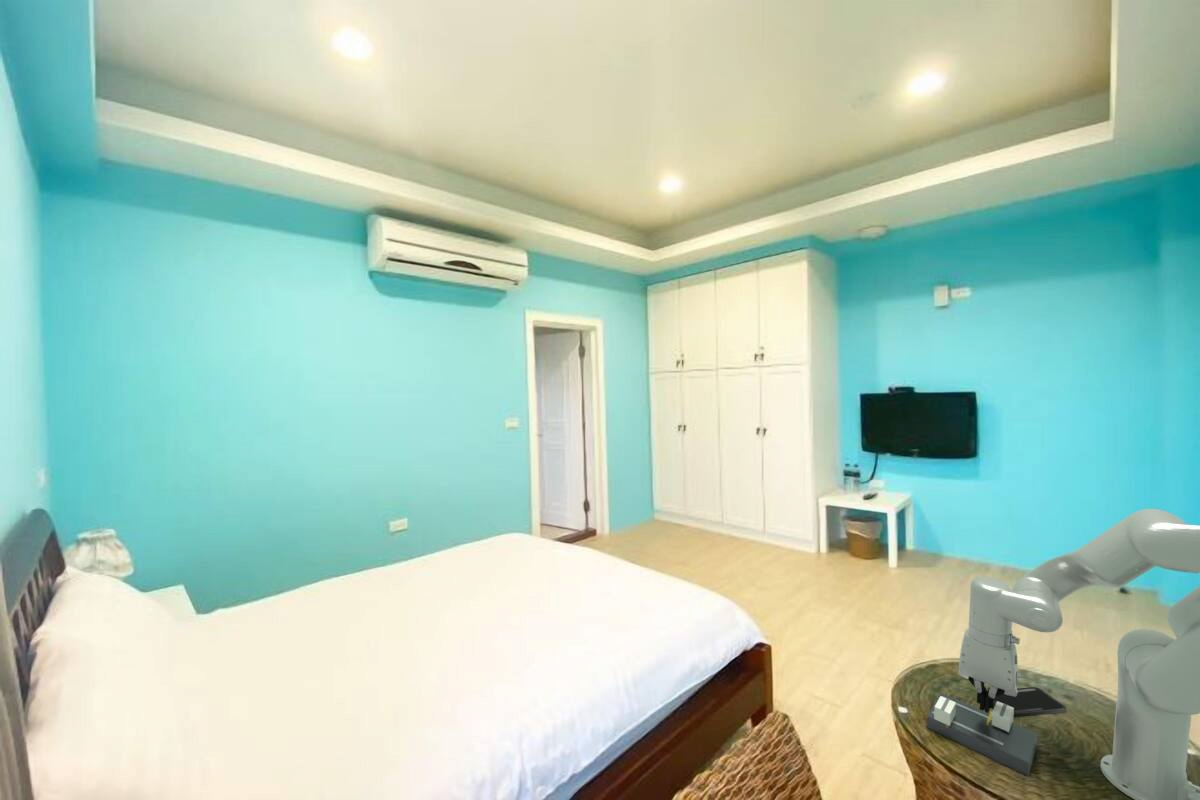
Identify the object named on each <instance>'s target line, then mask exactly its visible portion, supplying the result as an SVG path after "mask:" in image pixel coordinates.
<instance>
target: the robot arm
mask: <svg viewBox="0 0 1200 800" xmlns="http://www.w3.org/2000/svg"><path fill="white" fill-rule="evenodd" d="M1156 567H1158V568H1162V569H1164V570H1168V571H1175V572H1181V573H1191V574H1200V525H1199V524H1198V525H1197V524H1188V523H1187V522H1185V521H1184V520H1183V519H1182V518H1181V517H1178V516H1177V515H1174V514H1173V513H1171V512H1168V511H1165V510H1163V509H1159V508H1144V509H1139V510H1137V511H1135V512H1132V513H1131V514H1130V515H1128V516H1127V517H1124V518H1123V519H1122V520H1120V521H1118V522H1117V523H1116V524H1114V525H1112V526H1111V527H1110V528H1108V529H1107V530H1106V531H1104V532H1102V533H1101V534H1099V535H1098V536H1096V537H1095V538H1093V539H1092V540H1090V541H1088V542H1087V543H1085V544H1084V545H1083V546H1080V547H1079V548H1077V549H1076V550H1073V551H1071V552H1067V553H1065V554H1061V555H1059V556H1056V557H1053V558H1051V559H1049V560H1047V561H1044V562H1042V563H1041V564H1040V565H1038V566H1037V567H1035V568H1034V569H1032V570H1031V571H1029V572H1027V573H1026V574H1025V575H1023V576H1022V577H1020V578H1019V579H1018V580H1017V581H1016V582H1015V584H1014V586H1013V588H1012V586H1010V585H1009V584H1008V583H1007V582H1005V581H1002V580H1000V579H996V578H994V577H987V576H979V577H976V578H974V579H972V580H971V583H970V591H969V592H970V594H969V595H970V596H969V612H968V614H969V617H968V628H967V629H965V631H964V634H963V637H962V642H961V648H960V651H959V653H960V654H959V662H958V666H959V667H958V671H957V674H958V675H959V676H960V677H962V678H964V679H966V680H968V681H969V682H970V684H972V686H973V687H974V690H975V692H976V693H977V694H976V703H978V704H979V709H980V710H982V711H985V712H987V713H990V711H991V710H994V708H995V705H994V704H995V697H996V696H999V695H1002V694H1006V695H1010V696H1015V697H1016V696H1017V693H1018V692H1017V685H1016V684H1018V677H1019V674H1018V673H1019V668H1018V667H1019V665H1018V660H1019V659H1018V653H1017V647H1016V644H1017V645H1019V644H1020V643H1021V639H1020V637H1017V636H1016V635H1014V634H1013V630H1012V628H1013V627H1012V626H1013V623H1015V624H1016V625H1020V626H1022V627H1024V628H1027V629H1029V630H1032V631H1036V632H1040V633H1053V632H1057V631H1058V630H1059V629H1061V627H1062V625H1063V622H1064V621H1063V613H1062V611H1061V606H1060V603H1059V602H1061V601H1062V600H1064V599H1066V598H1067V597H1068V596H1070V595H1072V594H1073V593H1075V592H1078V591H1080V590H1082V589H1084V588H1088V587H1091V586H1101V587H1109V588H1121V587H1124V586H1126V585H1127V584H1129V583H1131V582H1132V581H1134V580H1136V579H1137V578H1139V577H1141V576H1142V575H1144V574H1145V573H1147V572H1149V571H1150V570H1152V569H1154V568H1156ZM1166 616H1167V617H1166V618H1167V621H1168V624H1169V627H1170V629H1171V631H1172V632H1173V634H1174V635H1175V636H1176V638H1175V639H1174V638H1173V637H1171V636H1169V635H1167V634H1165V633H1164V632H1161V631H1157V630H1153V629H1147V628H1141V629H1140V628H1139V629H1133V630H1130V631H1129V632H1127V633H1125V634H1124V635H1123V636H1122V637H1121V639H1120V640H1119V643H1118V646H1117V676H1118V677H1117V694H1116V697H1117V698H1116V704H1115V705H1116V706H1115V719H1114V728H1113V729H1114V731H1113V732H1114V733H1113V743H1112V744H1113V745H1112V754H1108V755H1107V754H1106V755H1104V756H1103V757H1101V760H1100V771H1101V773H1102V774H1103V776H1104V777H1105V778H1106V779H1107V780H1108V781H1109V782H1110V783H1111V784H1112V785H1113V786H1114V787H1115V788H1117V789H1118V790H1119V791H1120V792H1122V793H1123V794H1124V795H1126V796H1128V797H1130V798H1132V799H1133V800H1200V786H1198V785H1197V784H1194V783H1192V781H1190V780H1188V772H1186V771H1187V760H1188V750H1189V741H1190V740H1189V739H1190V732H1191V731H1190V730H1191V725H1192V724H1191V721H1192V716H1195V715H1199V714H1200V585H1198V586H1197V587H1196V588H1194V589H1193V590H1192V591H1190V592H1189V593H1187V595H1185V596H1183V598H1181V599H1179V601H1177V602H1175V604H1173V605H1172V606H1171V607H1170V608H1169V610H1168V612H1167V615H1166ZM985 684H987V685H988V686H989V685H990V686H989V688H988V690H987V688H986V686H985Z"/></svg>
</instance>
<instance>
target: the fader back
mask: <svg viewBox="0 0 1200 800" xmlns="http://www.w3.org/2000/svg"><path fill="white" fill-rule="evenodd" d="M992 712H993V713H992V725H994V726H996V727H998V728H1000V729H1003V730H1005V731H1007V732H1009V731H1010V728H1011V725H1012V723H1014V722H1013V721H1014V717H1013V716H1014V708H1013V707H1010V706H1008V705H1006V704H1003V703H1001V702H998V701H997V703H996V705H994V709H992Z"/></svg>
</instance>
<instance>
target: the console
mask: <svg viewBox="0 0 1200 800" xmlns="http://www.w3.org/2000/svg"><path fill="white" fill-rule="evenodd" d="M940 696H942V697H945V698H948V699H950V700H952V701H954V702H956V714H955V716H954V718H953V720H952V722H951V724H950V726H949V725H946V724H944V723H942V722H940V721H938V720H936V719H934V707H935V705H936V703H937V701H938V700H939V698H940ZM992 713H993V710H992V711H991V710H990V711H989V713H987V712H985V711H984V710H983V711H982V710H980V707H979V708H978V707H976V706H973V705H972V704H970V703H967V702H964V701H961V700H960V699H957V698H955V697H953V696H950V695H948V694H945V693H943V692H942V691H941V692H940V693H939V694H938V696H937V698H936V700H935V701H934V703H933V705H932V707H931V709H929V712H928V713H927V716H926V728H927V729H929V730H931V731H933V732H935V733H938V734H939V735H942V736H943V737H945V738H948V739H950V740H952V741H953V742H956V743H957V744H960V745H962V746H965V748H966V747H967V748H969V749H971V750H972V751H975V752H977V753H979V754H981V755H983V756H985V757H988V758H989V759H992V760H994V761H996V762H998V763H1000V764H1002V765H1003V766H1006V767H1008V768H1010V769H1012V770H1015V771H1016V772H1019V773H1021V774H1023V775H1025V776H1027V777H1029V776H1030V773H1031V768H1032V765H1033V760H1034V759H1035V758H1034V757H1035V754H1036V750H1037V748H1038V732H1035V731H1033V730H1031V729H1028V728H1026V727H1023V726H1021V725H1019V724H1016V723H1015V722H1012V725H1011V728H1010V731H1009V732H1007V731H1005V730H1003V729H1000V728H998V727H996V726H994V725H992Z"/></svg>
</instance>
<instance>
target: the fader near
mask: <svg viewBox="0 0 1200 800" xmlns="http://www.w3.org/2000/svg"><path fill="white" fill-rule="evenodd" d="M955 714H956V702H954V701H952V700H950V699H948V698H945V697H942V696H940V698H939V700H938V701H937V703H936V705H935V707H934V719H936V720H938V721H940V722H942V723H944V724H946V725H949V726H950V724H951V722H952V720H953V718H954V716H955Z"/></svg>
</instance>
